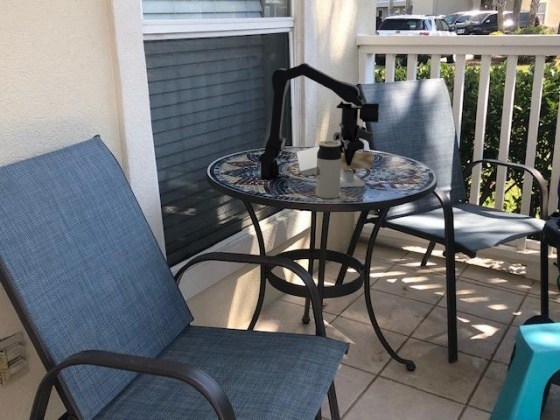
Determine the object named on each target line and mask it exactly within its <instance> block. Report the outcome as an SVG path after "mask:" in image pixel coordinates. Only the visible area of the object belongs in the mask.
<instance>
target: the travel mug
mask: <svg viewBox="0 0 560 420" xmlns="http://www.w3.org/2000/svg"><path fill="white" fill-rule="evenodd" d="M317 145H318V146H319V150H318V152H317V172H316V175H315V176H316V177H315V196H317V197H319V198H321V199H326V200H327V199H328V200H331V199H332V198H333V199H337V198H338V197H340V193H341V191H340V189H341V187H340V173H341V151H340V145H341V143H340V142H338V141H334V140H322V141H319V142H318V144H317Z"/></svg>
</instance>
